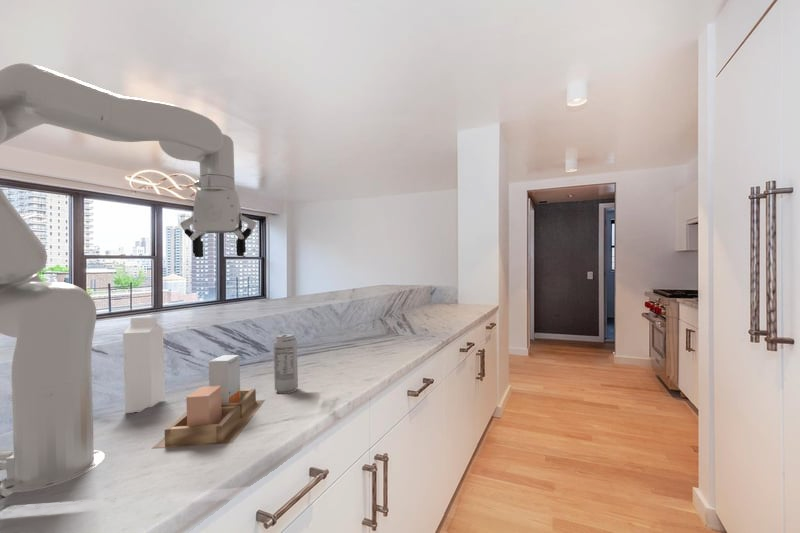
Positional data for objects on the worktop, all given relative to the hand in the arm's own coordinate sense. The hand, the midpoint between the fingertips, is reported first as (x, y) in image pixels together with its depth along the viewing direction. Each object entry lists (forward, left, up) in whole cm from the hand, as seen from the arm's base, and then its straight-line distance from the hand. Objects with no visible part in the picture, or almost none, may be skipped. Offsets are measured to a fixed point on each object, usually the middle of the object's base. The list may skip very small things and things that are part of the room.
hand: (219, 256), depth 90 cm
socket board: (+3, -12, -36) cm, 38 cm away
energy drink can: (+13, +9, -36) cm, 40 cm away
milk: (-19, +2, -37) cm, 41 cm away
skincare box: (+3, -7, -35) cm, 36 cm away
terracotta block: (+3, -17, -35) cm, 39 cm away
